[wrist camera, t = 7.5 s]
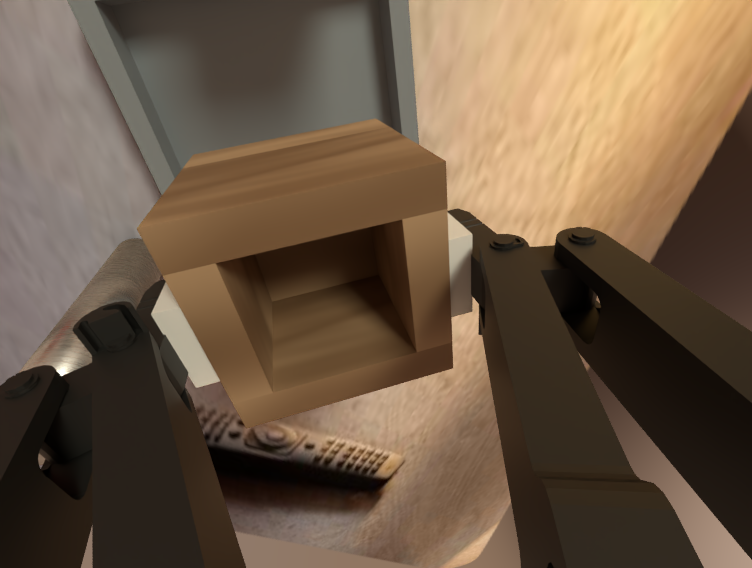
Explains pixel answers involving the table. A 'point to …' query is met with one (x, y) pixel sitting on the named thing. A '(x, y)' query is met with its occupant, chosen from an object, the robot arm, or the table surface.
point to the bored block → (310, 265)
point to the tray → (249, 70)
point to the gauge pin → (97, 306)
